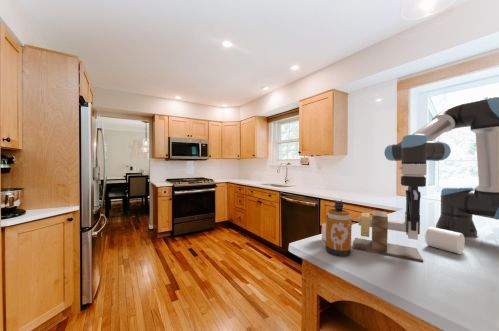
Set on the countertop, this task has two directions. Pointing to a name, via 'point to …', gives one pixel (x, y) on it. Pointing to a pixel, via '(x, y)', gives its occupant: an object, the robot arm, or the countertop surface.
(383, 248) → the bracket
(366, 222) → the block
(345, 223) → the canister
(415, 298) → the countertop surface
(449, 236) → the white rounded block
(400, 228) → the shaft
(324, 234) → the medicine bottle
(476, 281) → the countertop surface
